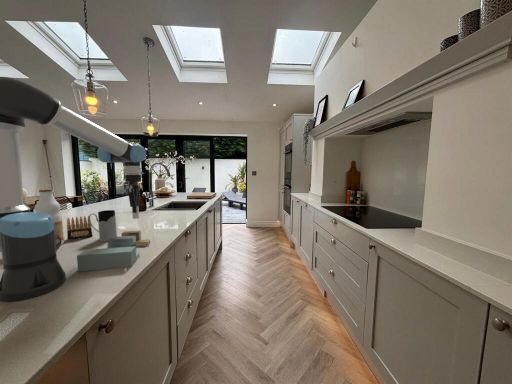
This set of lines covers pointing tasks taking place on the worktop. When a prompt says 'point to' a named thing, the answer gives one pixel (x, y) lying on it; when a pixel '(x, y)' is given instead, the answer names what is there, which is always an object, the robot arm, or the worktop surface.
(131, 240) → the steel block
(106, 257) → the block
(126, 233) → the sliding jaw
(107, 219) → the grey mug
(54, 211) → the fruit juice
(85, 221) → the ammunition clip
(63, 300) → the worktop surface
